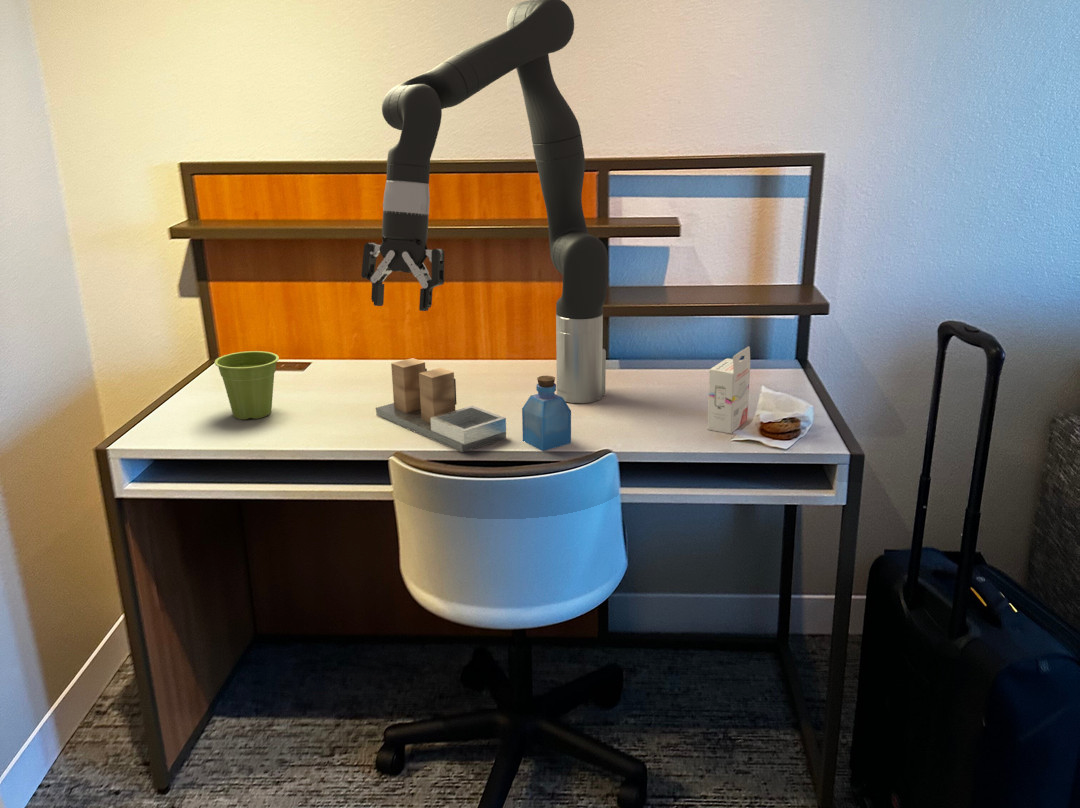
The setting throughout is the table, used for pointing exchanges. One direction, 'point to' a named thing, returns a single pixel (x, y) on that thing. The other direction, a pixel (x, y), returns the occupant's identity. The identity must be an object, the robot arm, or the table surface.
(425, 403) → the walnut finger front
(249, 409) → the plant pot
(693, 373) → the table surface
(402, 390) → the walnut finger rear
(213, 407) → the table surface
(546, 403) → the perfume bottle
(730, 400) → the ink cartridge box
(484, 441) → the grey rectangular tray
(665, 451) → the table surface
